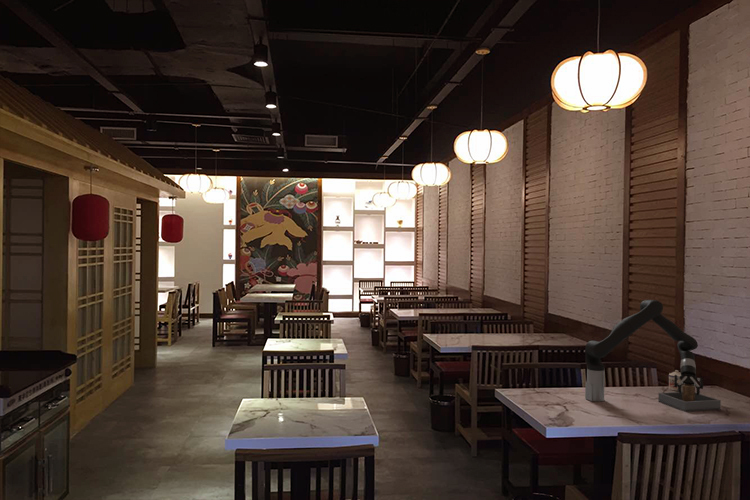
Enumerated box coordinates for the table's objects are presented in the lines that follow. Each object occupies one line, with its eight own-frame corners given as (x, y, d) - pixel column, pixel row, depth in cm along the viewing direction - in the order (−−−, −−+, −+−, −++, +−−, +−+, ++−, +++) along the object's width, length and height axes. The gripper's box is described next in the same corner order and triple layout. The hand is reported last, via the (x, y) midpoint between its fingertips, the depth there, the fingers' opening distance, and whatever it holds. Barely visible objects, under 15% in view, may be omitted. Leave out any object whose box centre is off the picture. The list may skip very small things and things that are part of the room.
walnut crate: (683, 404, 307) (683, 386, 307) (682, 401, 312) (682, 383, 312) (694, 405, 305) (695, 387, 305) (694, 403, 310) (694, 385, 310)
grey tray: (685, 411, 296) (685, 402, 296) (658, 401, 316) (658, 392, 316) (720, 409, 301) (720, 400, 301) (691, 400, 321) (692, 391, 321)
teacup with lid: (664, 388, 349) (665, 369, 349) (676, 387, 351) (677, 368, 351) (680, 392, 337) (680, 373, 337) (692, 392, 340) (692, 372, 340)
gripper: (673, 363, 318) (674, 387, 308) (703, 365, 312) (704, 391, 302) (673, 370, 323) (674, 395, 313) (702, 373, 317) (703, 398, 306)
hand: (688, 393), depth 307 cm, fingers open, 8 cm apart
